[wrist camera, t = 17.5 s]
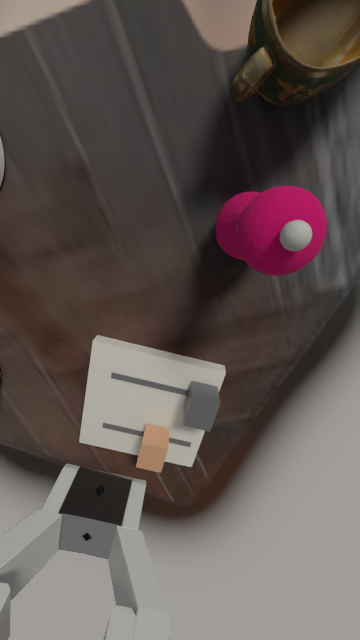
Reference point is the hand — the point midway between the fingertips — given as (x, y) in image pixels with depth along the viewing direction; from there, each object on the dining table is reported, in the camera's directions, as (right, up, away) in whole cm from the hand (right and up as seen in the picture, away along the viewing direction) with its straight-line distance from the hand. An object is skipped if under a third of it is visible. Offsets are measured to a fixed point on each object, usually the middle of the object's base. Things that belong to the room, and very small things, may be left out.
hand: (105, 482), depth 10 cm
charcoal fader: (+6, -6, +31) cm, 32 cm away
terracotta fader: (-1, -14, +34) cm, 37 cm away
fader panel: (-2, -8, +34) cm, 35 cm away
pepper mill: (+11, +18, +24) cm, 32 cm away
